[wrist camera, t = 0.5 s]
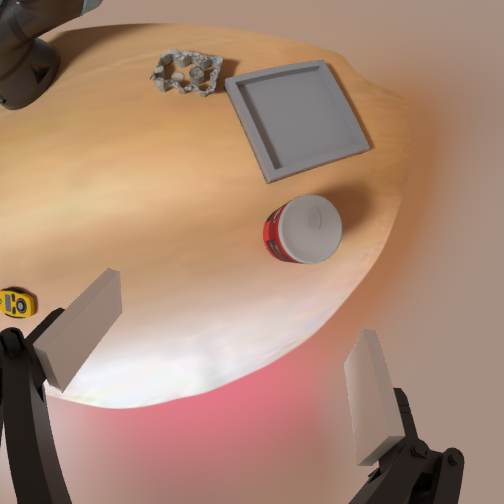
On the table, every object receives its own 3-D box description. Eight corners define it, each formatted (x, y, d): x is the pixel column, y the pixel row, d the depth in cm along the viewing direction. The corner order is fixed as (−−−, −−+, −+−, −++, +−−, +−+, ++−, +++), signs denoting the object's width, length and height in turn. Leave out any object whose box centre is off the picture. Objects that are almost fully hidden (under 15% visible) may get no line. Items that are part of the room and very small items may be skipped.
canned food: (309, 206, 44) (339, 192, 33) (313, 259, 44) (346, 261, 33) (259, 208, 43) (276, 194, 32) (263, 264, 43) (282, 267, 32)
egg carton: (150, 91, 41) (145, 79, 37) (166, 58, 41) (163, 44, 37) (211, 103, 42) (212, 90, 38) (224, 68, 42) (226, 54, 38)
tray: (224, 86, 42) (225, 78, 40) (318, 66, 45) (323, 59, 42) (267, 184, 43) (270, 180, 40) (363, 152, 45) (370, 148, 43)
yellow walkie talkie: (31, 322, 36) (-25, 308, 34) (36, 320, 38) (-19, 307, 36) (29, 293, 36) (-26, 282, 34) (35, 291, 38) (-20, 281, 36)
